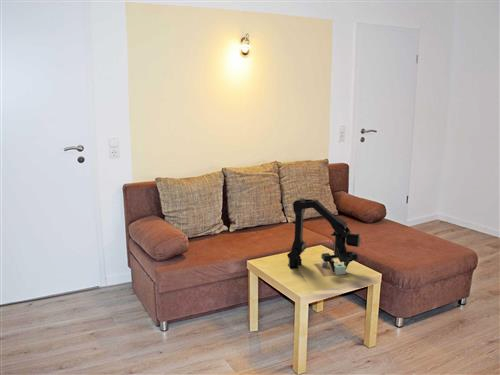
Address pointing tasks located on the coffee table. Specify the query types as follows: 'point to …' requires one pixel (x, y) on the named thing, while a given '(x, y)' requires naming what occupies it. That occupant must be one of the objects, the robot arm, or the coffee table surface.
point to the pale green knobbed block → (339, 268)
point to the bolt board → (326, 269)
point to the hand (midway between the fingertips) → (338, 271)
